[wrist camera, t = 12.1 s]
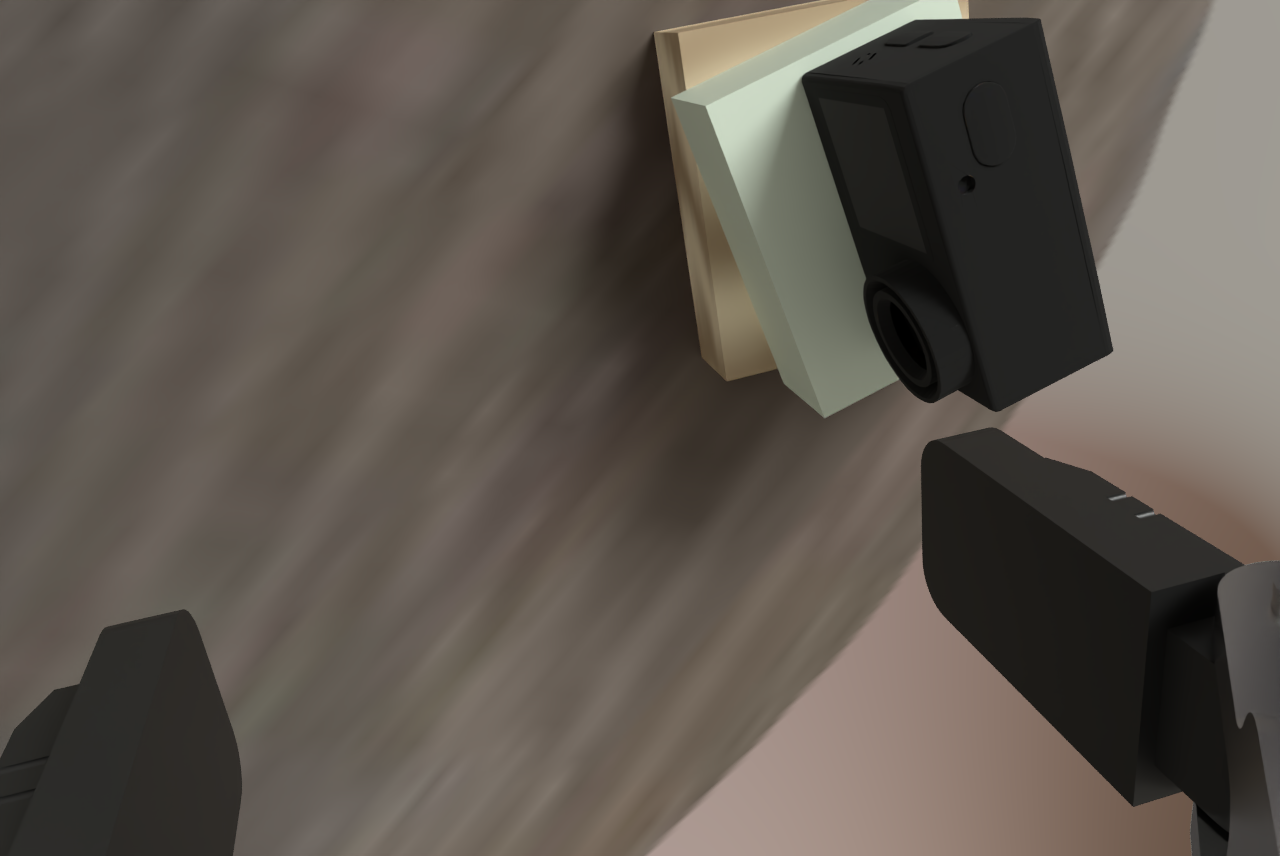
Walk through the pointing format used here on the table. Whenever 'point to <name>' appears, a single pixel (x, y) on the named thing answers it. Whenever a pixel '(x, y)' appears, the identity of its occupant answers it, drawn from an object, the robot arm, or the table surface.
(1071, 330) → the digital camera
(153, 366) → the table surface
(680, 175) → the block bottom
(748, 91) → the block top
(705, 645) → the table surface
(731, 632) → the table surface
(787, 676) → the table surface
